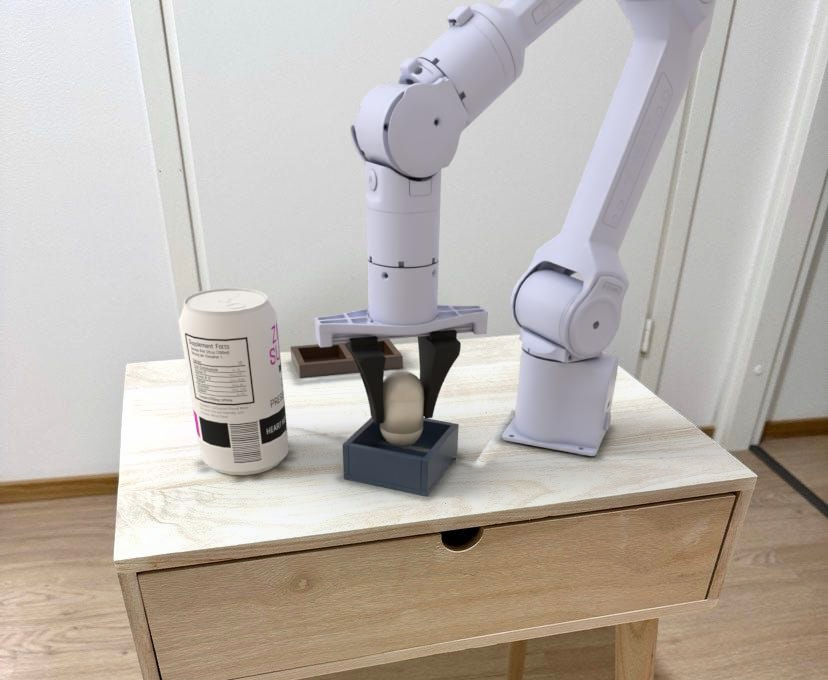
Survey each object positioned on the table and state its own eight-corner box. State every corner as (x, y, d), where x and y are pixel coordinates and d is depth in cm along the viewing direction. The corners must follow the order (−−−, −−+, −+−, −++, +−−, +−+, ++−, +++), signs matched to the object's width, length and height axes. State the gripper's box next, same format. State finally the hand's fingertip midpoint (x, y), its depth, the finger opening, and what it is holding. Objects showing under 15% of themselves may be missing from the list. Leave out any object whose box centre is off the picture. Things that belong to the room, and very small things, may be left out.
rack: (402, 373, 91) (402, 356, 90) (300, 382, 88) (298, 365, 87) (388, 354, 96) (388, 338, 95) (291, 363, 93) (290, 346, 92)
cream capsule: (429, 439, 71) (431, 367, 67) (413, 457, 68) (414, 383, 64) (390, 432, 72) (389, 360, 68) (372, 449, 69) (371, 376, 65)
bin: (457, 457, 73) (459, 423, 71) (427, 496, 67) (427, 461, 65) (379, 442, 75) (379, 409, 73) (343, 478, 69) (342, 444, 67)
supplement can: (188, 453, 73) (160, 295, 64) (264, 432, 77) (247, 280, 68) (225, 487, 67) (200, 320, 59) (305, 462, 72) (292, 302, 63)
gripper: (471, 243, 65) (463, 391, 73) (304, 252, 62) (314, 406, 69) (501, 263, 60) (489, 421, 67) (320, 274, 56) (329, 439, 64)
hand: (402, 416), depth 68 cm, fingers closed on cream capsule, 4 cm apart
